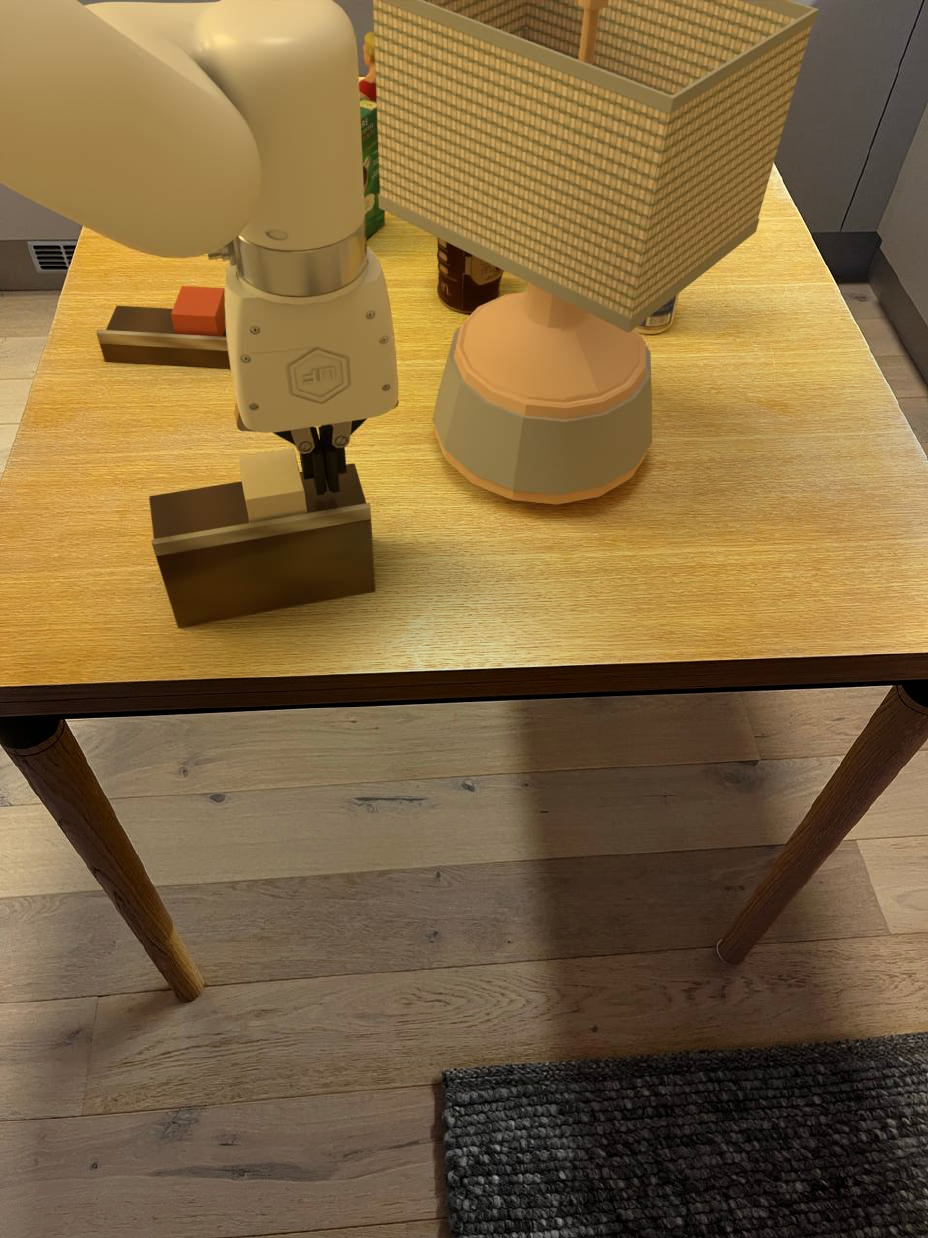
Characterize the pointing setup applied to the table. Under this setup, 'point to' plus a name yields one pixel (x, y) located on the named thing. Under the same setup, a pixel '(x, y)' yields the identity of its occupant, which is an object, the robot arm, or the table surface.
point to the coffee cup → (465, 279)
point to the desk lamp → (575, 201)
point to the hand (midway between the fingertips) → (324, 479)
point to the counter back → (158, 340)
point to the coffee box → (370, 166)
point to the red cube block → (199, 311)
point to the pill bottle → (659, 318)
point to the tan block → (272, 485)
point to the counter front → (260, 550)
